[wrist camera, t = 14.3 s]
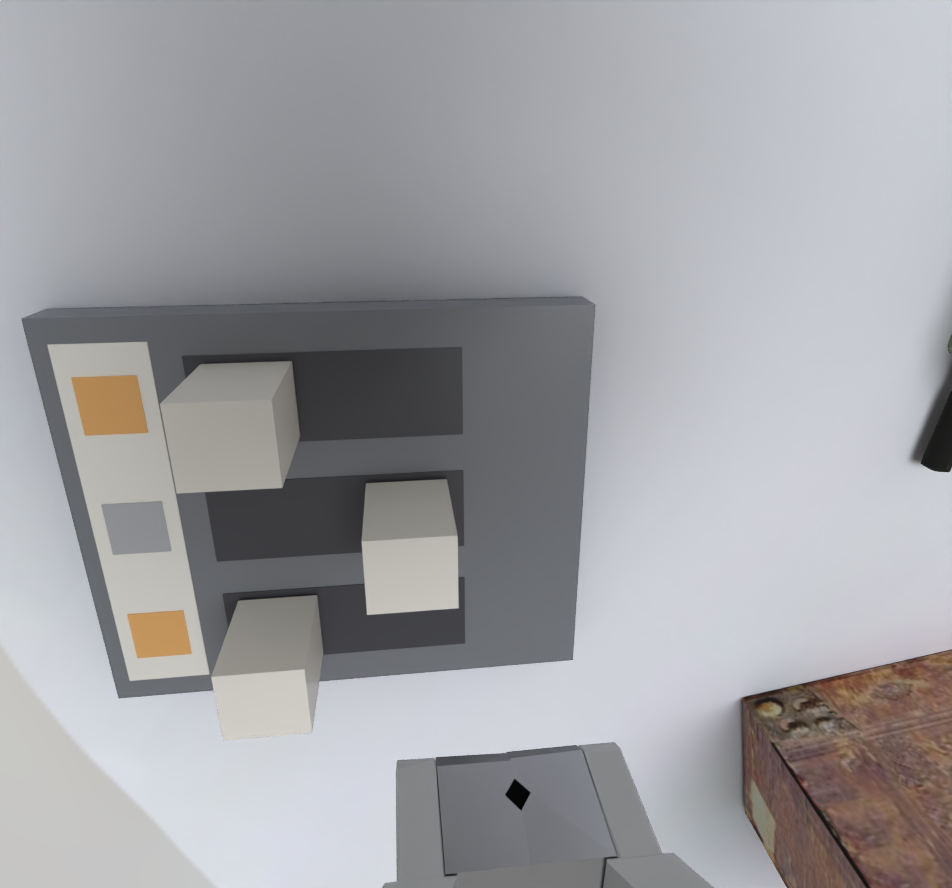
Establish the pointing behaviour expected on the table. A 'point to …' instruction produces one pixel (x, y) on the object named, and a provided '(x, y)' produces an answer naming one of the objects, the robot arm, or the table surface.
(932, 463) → the handheld radio
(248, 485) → the tab inner
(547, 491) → the switch panel
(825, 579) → the table surface
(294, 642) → the block
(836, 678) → the book
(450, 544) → the tab middle
